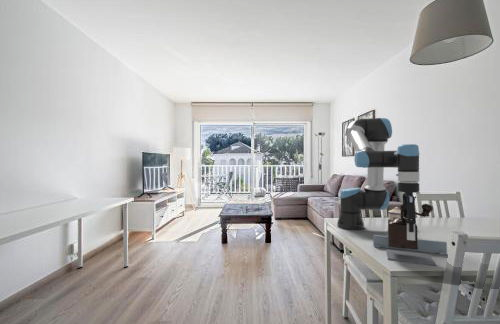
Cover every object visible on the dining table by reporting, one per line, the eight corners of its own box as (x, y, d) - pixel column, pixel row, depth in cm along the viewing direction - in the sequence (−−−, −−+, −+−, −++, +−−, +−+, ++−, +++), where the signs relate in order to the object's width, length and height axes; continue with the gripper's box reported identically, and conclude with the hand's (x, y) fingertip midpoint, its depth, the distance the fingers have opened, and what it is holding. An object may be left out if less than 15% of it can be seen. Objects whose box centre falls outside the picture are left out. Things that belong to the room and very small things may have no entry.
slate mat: (386, 250, 117) (386, 249, 117) (429, 255, 110) (429, 254, 110) (388, 259, 106) (388, 258, 106) (436, 265, 99) (436, 264, 99)
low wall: (373, 244, 125) (373, 234, 125) (445, 252, 114) (445, 240, 114) (373, 247, 122) (373, 236, 122) (447, 255, 110) (447, 243, 110)
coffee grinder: (388, 247, 106) (387, 202, 106) (387, 240, 116) (387, 199, 116) (434, 253, 99) (434, 204, 99) (429, 244, 109) (429, 201, 109)
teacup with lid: (390, 228, 157) (389, 208, 157) (386, 224, 165) (386, 205, 165) (413, 229, 153) (412, 209, 153) (408, 225, 162) (408, 206, 162)
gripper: (395, 180, 120) (395, 229, 120) (401, 183, 99) (401, 243, 99) (414, 180, 117) (415, 230, 117) (424, 184, 96) (425, 245, 96)
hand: (408, 236), depth 108 cm, fingers closed on coffee grinder, 10 cm apart
